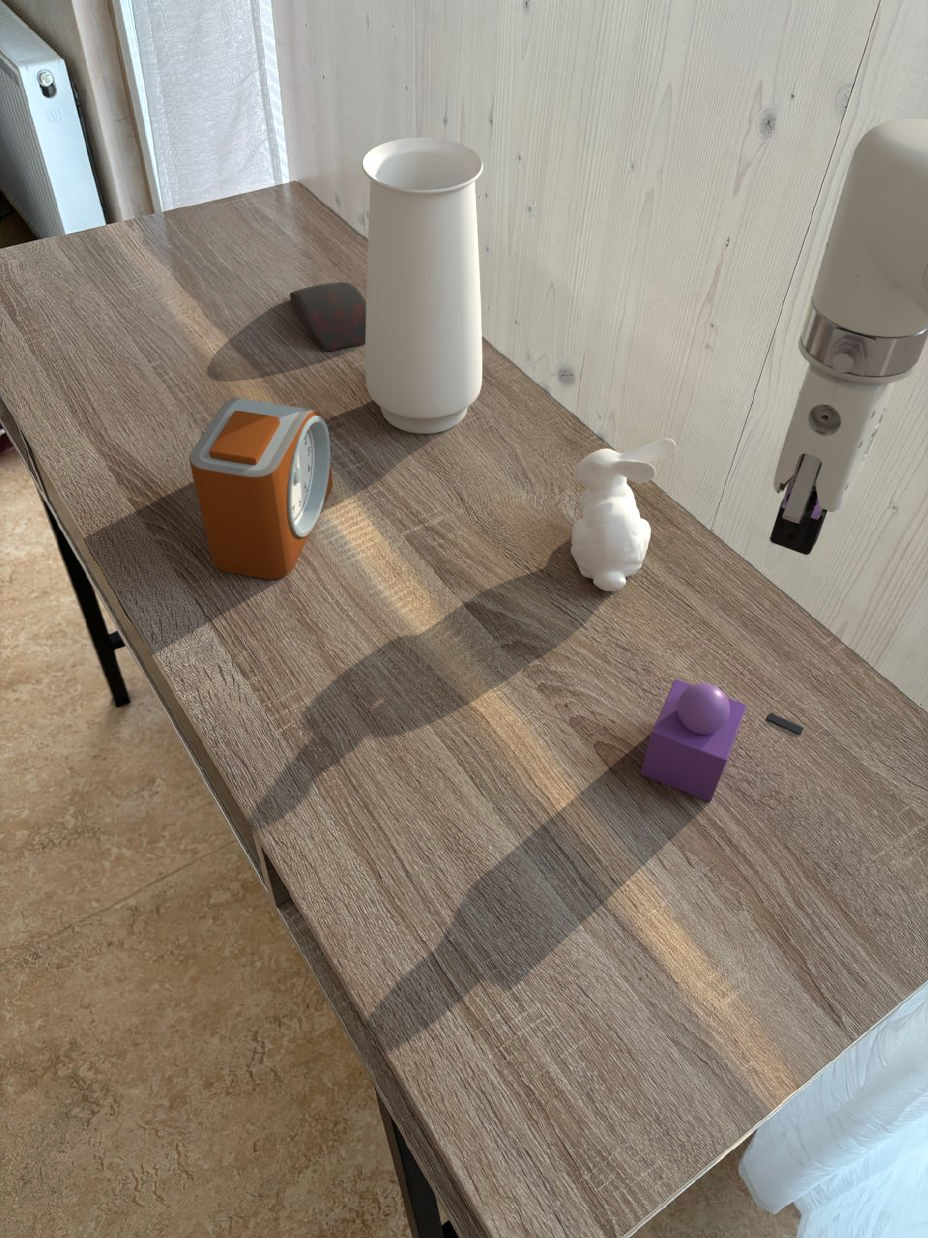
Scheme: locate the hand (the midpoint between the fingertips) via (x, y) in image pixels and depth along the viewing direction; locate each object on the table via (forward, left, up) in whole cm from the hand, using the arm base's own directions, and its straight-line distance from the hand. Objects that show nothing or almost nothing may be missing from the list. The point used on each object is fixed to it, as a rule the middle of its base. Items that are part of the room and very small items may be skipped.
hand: (792, 542), depth 78 cm
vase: (+46, -18, -17) cm, 52 cm away
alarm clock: (+48, +7, -17) cm, 51 cm away
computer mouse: (+66, -27, -17) cm, 73 cm away
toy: (+1, +11, -16) cm, 20 cm away
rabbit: (+18, -8, -17) cm, 25 cm away
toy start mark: (-5, +3, -16) cm, 17 cm away
